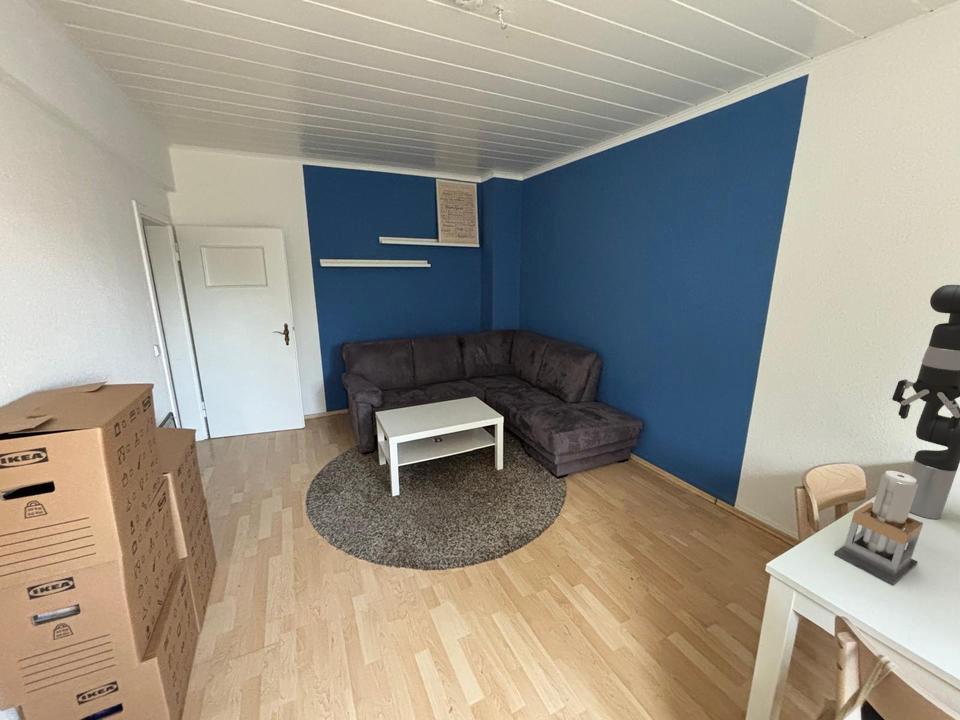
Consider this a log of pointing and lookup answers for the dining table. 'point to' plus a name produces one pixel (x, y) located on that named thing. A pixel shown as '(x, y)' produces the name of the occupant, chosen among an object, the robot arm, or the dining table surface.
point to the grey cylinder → (890, 510)
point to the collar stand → (873, 561)
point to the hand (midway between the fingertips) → (926, 423)
